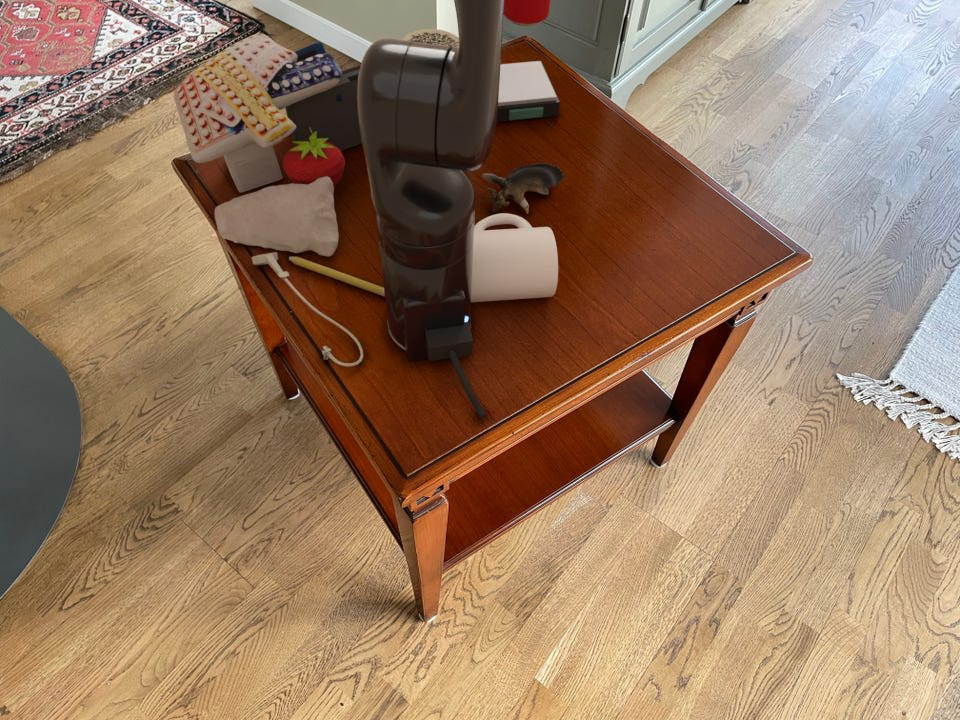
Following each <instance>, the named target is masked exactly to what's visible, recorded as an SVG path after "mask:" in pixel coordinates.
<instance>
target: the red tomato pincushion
mask: <svg viewBox="0 0 960 720" xmlns="http://www.w3.org/2000/svg"><path fill="white" fill-rule="evenodd" d="M310 130H311V128H310ZM311 133H312V130H311ZM309 139H310V141H292V140H291V142H292V144H293V143H296V144H297V145H295V146H294V145H293V146H292V147H291V148H289V150H287V151H286V153H285V154H284V155H283V160H282V169H283V171H284V172H285V174H286V176H287V177H288V179H289V180H290V182H291V183H294V184H307V185H308V184H310V183H312V182H314V181H316V180H317V179H318V178H322V177H326V176H327V177H329V178H330V179H331V181H332V182H333V186H334V188H336V186H337V185H338V184H339V182H340V180H341V179H342V177H343V176H344V171H345V167H346V160H345V156H344V154H343V152H342V151H340V149H339V148H337V147H336V146H334V145H332V144H330V143H328V142H325V141H326V140H327V139H329V138H321V139H317V134H316V131H315V132H314V133H312V135H311V136H310V137H309Z"/></svg>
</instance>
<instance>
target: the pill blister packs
mask: <svg viewBox="0 0 960 720" xmlns="http://www.w3.org/2000/svg"><path fill="white" fill-rule="evenodd" d="M294 52H295V51H293V50H291V49H290V48H289V49H288V48H286V47H284V46H282V45H280V44H279V43H277V42H275V41H274V40H273V39H272V38H271V37H270V36H268V35H266V34H264V33H255V34H252V35H250V36H248V37H245V38H243V39H240V40H239V41H237V42H235V43H233V44H231V45H230V46H228V47H226V48H225V49H223V50H221V51H219V52H218V53H217V54H215V55H214V56H212V57H211V58H209V59H208V60H206V61H205V62H204V63H202V64H200V65H199V66H198V67H196V68H195V69H194V70H192V72H190V73H189V74H188V75H187V76H185V78H184V79H183V80H182V82H181V83H179V85H177V87H176V89H174V93H173V100H174V103H175V106H176V110H177V113H178V116H179V120H180V122H181V126H182V129H183V133H184V136H185V140H186V145H187V147H188V150H189V153H190V157H191V159H192V160H193V161H194V162H195V163H197V164H206V163H209V162H212V161H214V160H217V159H219V158H221V157H224V155H227V154H230V153H232V152H234V151H237V150H239V149H241V148H243V147H245V146H247V145H249V144H251V143H253V142H256V143H257V144H258V145H260V146H261V147H263V148H268V147H271V146H273V147H274V146H276V145H278V144H280V143H281V142H282V141H284V140H285V139H286V138H287V137H289V136H290V135H291V133H292V132H293V131H294V130H295V129H296V125H295V124H294V123H293V122H292V121H291V120H290V119H289V118H288V117H287V114H286V113H284V112H283V111H282V110H284V109H286V107H288V106H290V105H291V104H293V103H296V102H298V101H300V100H303V99H305V98H308V97H310V96H313V95H315V94H318V93H321V92H323V91H326V90H328V89H331V88H332V87H334V86H336V85H337V84H339V83H340V82H341V80H342V77H343V76H342V71H343V70H341V69H342V68H341V67H340V66H339V64H338V62H337V61H336V59H335V58H334V56H332V54H330V53H326V54H318V55H314V56H312V57H309V58H307V59H305V60H303V61H300V62H298V63H296V62H297V58H298V57H297V55H296V53H294Z"/></svg>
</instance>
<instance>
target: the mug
mask: <svg viewBox="0 0 960 720" xmlns="http://www.w3.org/2000/svg"><path fill="white" fill-rule="evenodd" d="M499 225H511V226H512V225H513V226H515V227H517V228H504V229H488V230H487V228H490V227H493V226H499ZM557 247H558V246H557V241H556V238H555V235H554V232H553V230H552V228H551V227H549V226H538V227H533V226H532V225H531V224H530V222H529V221H528V220H527V219H525V218H523V217H522V216H520V215H516V214H512V213H507V212H503V213H496V214H492V215H490V216H486V217H485V218H483V219H481V220H479V221H478V222H476V224H474V241H473V265H472V288H471V303H484V302H494V301H495V302H497V301H498V302H499V301H510V300H511V301H512V300H527V299H539V298H540V299H541V298H542V299H543V298H552V297H554V295H556V292H557V288H558V282H559V256H558V248H557Z"/></svg>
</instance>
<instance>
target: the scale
mask: <svg viewBox="0 0 960 720" xmlns="http://www.w3.org/2000/svg"><path fill="white" fill-rule="evenodd" d="M560 104H561V102H560V100H559V96H558V95H557V93H556V90H555V88H554V86H553V84H552V81H551V80H550V77H549V75H548V73H547V70H546V68H545V66H544V64H543V63H542V61H541V60H536V61H535V60H533V61H523V62H512V63H511V62H510V63H501V67H500V85H499V99H498V112H497V122H496V123H504V122H505V123H506V122H515V121H524V120H534V119H536V120H537V119H544V118H553V117H559V110H560Z"/></svg>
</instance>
